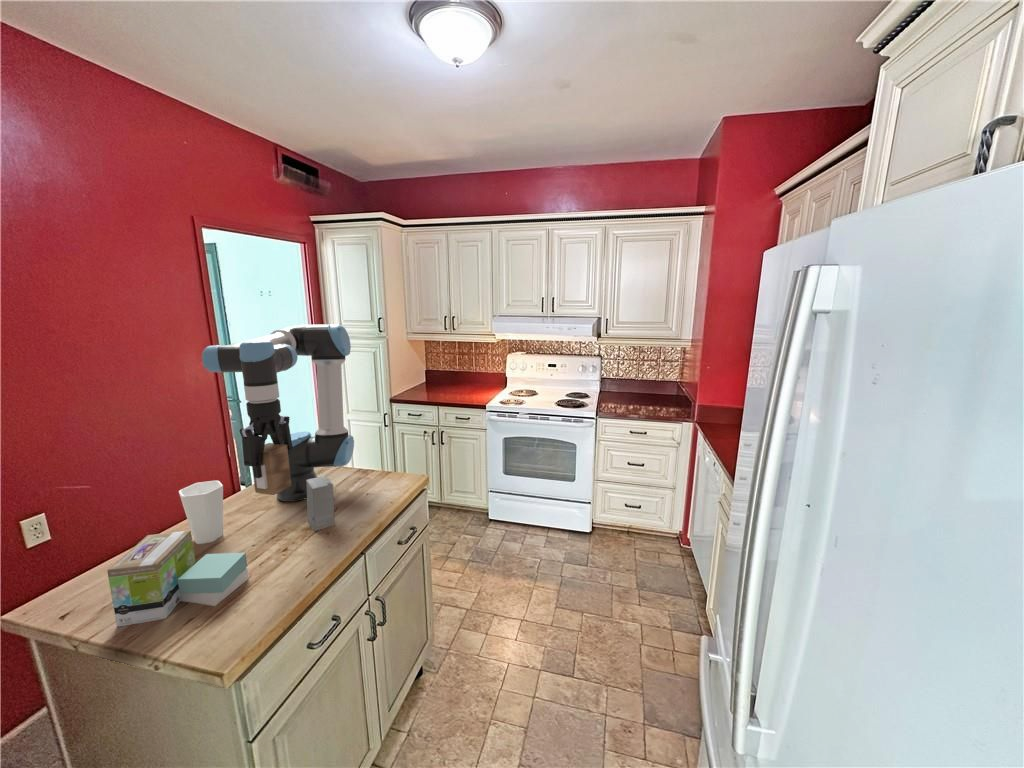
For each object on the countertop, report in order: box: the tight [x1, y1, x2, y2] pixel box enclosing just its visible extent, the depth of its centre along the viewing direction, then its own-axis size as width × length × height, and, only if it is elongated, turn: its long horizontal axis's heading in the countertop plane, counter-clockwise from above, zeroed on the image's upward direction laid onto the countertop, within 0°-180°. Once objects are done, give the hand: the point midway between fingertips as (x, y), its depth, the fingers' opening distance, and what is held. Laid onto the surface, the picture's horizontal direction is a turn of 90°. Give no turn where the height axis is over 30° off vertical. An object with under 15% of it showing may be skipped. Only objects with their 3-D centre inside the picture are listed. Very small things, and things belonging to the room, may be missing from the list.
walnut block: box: [251, 442, 292, 496], centre depth 108 cm, size 6×6×12 cm
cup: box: [178, 480, 224, 545], centre depth 124 cm, size 11×10×17 cm
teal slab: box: [177, 552, 248, 594], centre depth 101 cm, size 10×10×4 cm
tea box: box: [107, 530, 196, 627], centre depth 97 cm, size 15×10×15 cm, turn 15°
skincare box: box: [306, 475, 335, 532], centre depth 132 cm, size 8×7×16 cm
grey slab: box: [179, 567, 250, 607], centre depth 102 cm, size 10×10×4 cm
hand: (272, 482), depth 108 cm, fingers closed on walnut block, 6 cm apart
